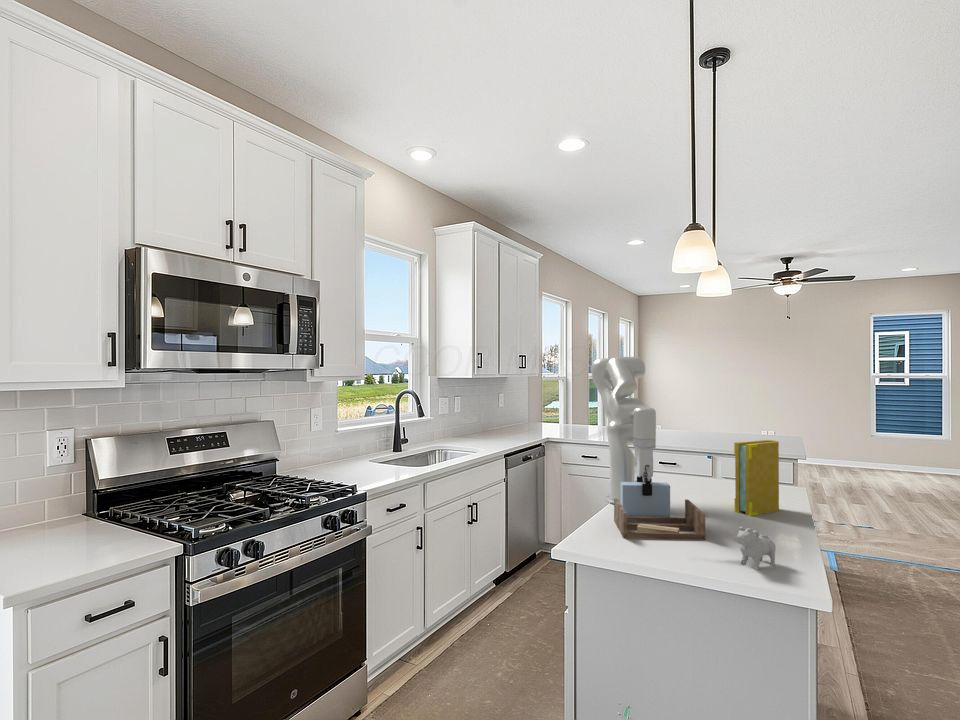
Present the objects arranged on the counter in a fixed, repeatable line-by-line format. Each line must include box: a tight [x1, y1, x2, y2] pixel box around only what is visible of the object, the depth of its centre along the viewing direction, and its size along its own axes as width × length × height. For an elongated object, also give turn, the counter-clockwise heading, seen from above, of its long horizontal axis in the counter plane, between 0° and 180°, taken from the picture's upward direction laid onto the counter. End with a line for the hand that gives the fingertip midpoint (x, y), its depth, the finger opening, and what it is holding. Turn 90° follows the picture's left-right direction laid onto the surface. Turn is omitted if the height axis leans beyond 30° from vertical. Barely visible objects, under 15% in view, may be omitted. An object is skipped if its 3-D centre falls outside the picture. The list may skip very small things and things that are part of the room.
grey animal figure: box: [734, 526, 776, 571], centre depth 151 cm, size 5×13×11 cm, turn 118°
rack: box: [613, 498, 706, 541], centre depth 178 cm, size 18×24×9 cm
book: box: [733, 439, 780, 517], centre depth 205 cm, size 17×7×25 cm, turn 114°
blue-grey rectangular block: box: [620, 481, 671, 517], centre depth 197 cm, size 5×16×12 cm, turn 85°
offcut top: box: [636, 523, 680, 533], centre depth 174 cm, size 4×12×2 cm, turn 65°
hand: (644, 491), depth 197 cm, fingers open, 9 cm apart
